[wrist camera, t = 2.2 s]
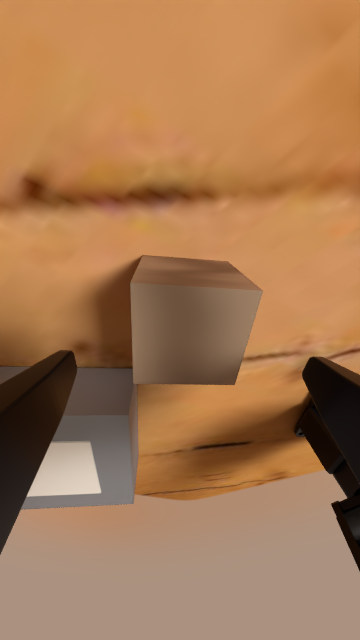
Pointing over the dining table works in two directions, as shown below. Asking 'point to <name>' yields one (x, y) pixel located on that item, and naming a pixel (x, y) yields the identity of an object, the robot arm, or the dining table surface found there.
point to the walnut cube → (190, 320)
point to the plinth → (90, 443)
